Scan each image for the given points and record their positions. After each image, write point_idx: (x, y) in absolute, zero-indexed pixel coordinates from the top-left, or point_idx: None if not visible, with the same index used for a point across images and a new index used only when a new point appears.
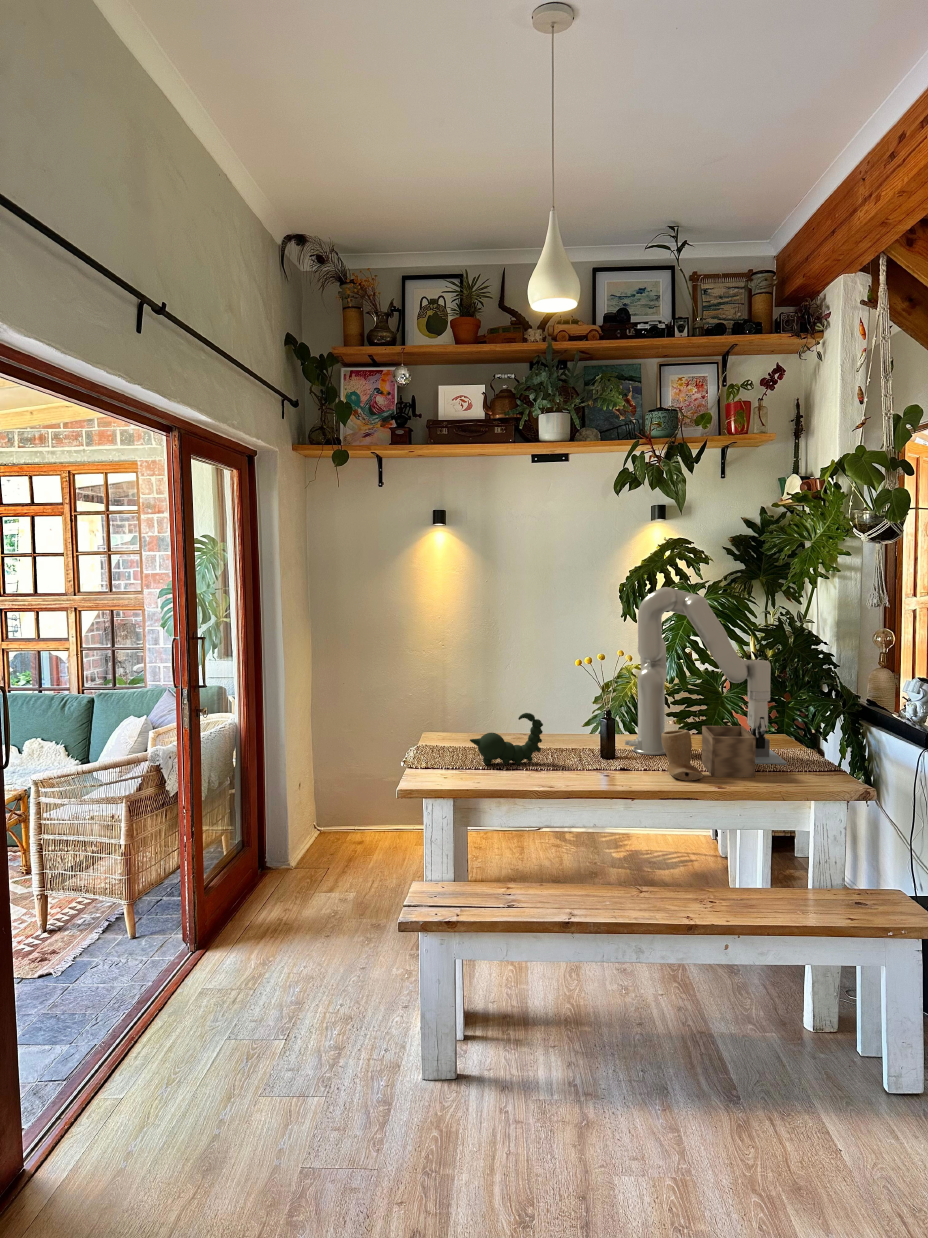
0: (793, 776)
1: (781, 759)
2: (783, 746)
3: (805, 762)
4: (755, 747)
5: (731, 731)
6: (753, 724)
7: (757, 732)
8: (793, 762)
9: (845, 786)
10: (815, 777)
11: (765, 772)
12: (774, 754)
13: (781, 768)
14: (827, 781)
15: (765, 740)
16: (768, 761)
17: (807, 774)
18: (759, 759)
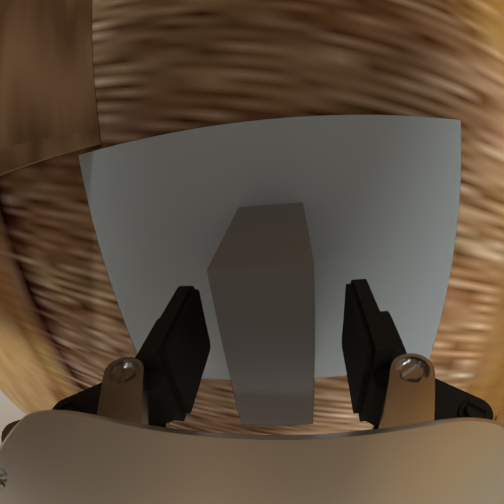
0: (7, 327)
1: (207, 374)
2: (488, 395)
3: (217, 430)
4: (185, 287)
5: None
6: (5, 453)
7: (100, 406)
8: (205, 400)
9: (7, 395)
10: (32, 378)
11: (2, 246)
12: (324, 367)
13: (78, 328)
14: (17, 385)
15: (237, 402)
16: (140, 305)
17: (48, 375)
18: (174, 266)
